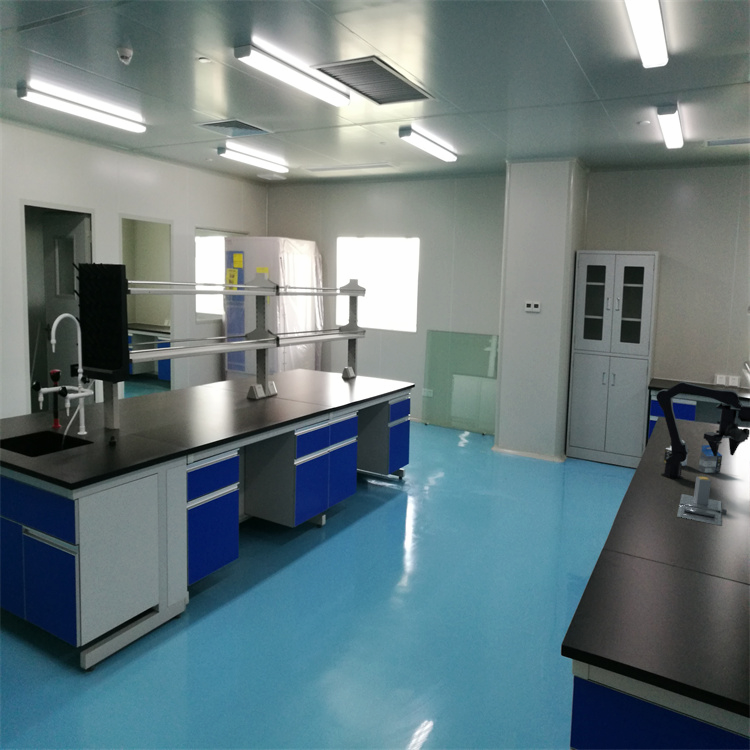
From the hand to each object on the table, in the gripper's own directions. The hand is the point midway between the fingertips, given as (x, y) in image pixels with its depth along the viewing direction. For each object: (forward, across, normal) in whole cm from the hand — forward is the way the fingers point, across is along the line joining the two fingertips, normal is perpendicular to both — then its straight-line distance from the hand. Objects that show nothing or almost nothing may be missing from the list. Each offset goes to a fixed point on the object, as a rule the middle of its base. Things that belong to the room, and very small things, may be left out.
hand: (723, 455), depth 260 cm
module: (+12, -28, -17) cm, 35 cm away
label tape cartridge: (+13, +12, +17) cm, 24 cm away
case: (+13, -33, -22) cm, 42 cm away
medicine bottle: (+13, +6, +31) cm, 34 cm away
